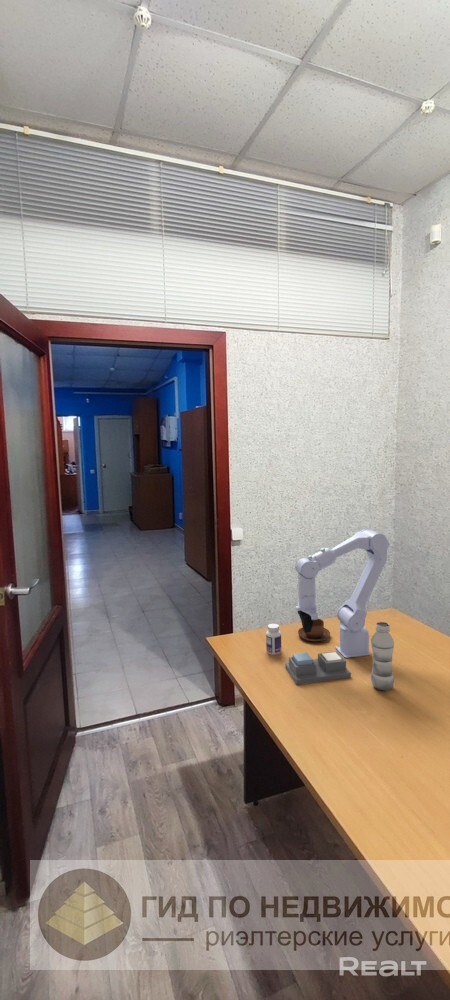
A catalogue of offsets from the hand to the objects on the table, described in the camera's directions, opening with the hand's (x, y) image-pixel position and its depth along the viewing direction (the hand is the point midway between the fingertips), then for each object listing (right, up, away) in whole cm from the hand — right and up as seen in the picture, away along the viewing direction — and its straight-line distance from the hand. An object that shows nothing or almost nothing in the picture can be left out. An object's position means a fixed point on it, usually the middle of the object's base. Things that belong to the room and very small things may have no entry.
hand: (307, 631), depth 153 cm
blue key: (-3, -8, -10) cm, 13 cm away
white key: (+7, -9, -8) cm, 13 cm away
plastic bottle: (+19, -12, -19) cm, 29 cm away
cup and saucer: (+6, -7, +17) cm, 20 cm away
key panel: (+2, -11, -9) cm, 14 cm away
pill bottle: (-11, -9, +6) cm, 16 cm away
